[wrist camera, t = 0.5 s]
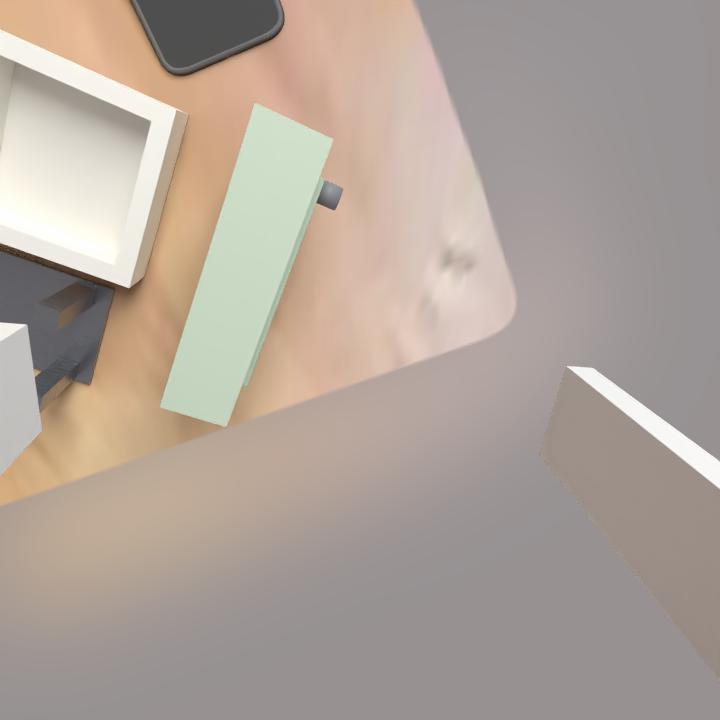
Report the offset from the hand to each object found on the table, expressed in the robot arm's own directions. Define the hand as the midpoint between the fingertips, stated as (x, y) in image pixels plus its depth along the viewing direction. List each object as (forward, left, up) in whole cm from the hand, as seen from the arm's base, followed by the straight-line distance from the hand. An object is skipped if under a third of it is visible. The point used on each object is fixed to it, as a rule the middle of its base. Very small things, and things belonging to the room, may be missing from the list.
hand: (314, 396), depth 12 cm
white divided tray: (-18, -1, -21) cm, 27 cm away
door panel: (-3, -1, -21) cm, 21 cm away
